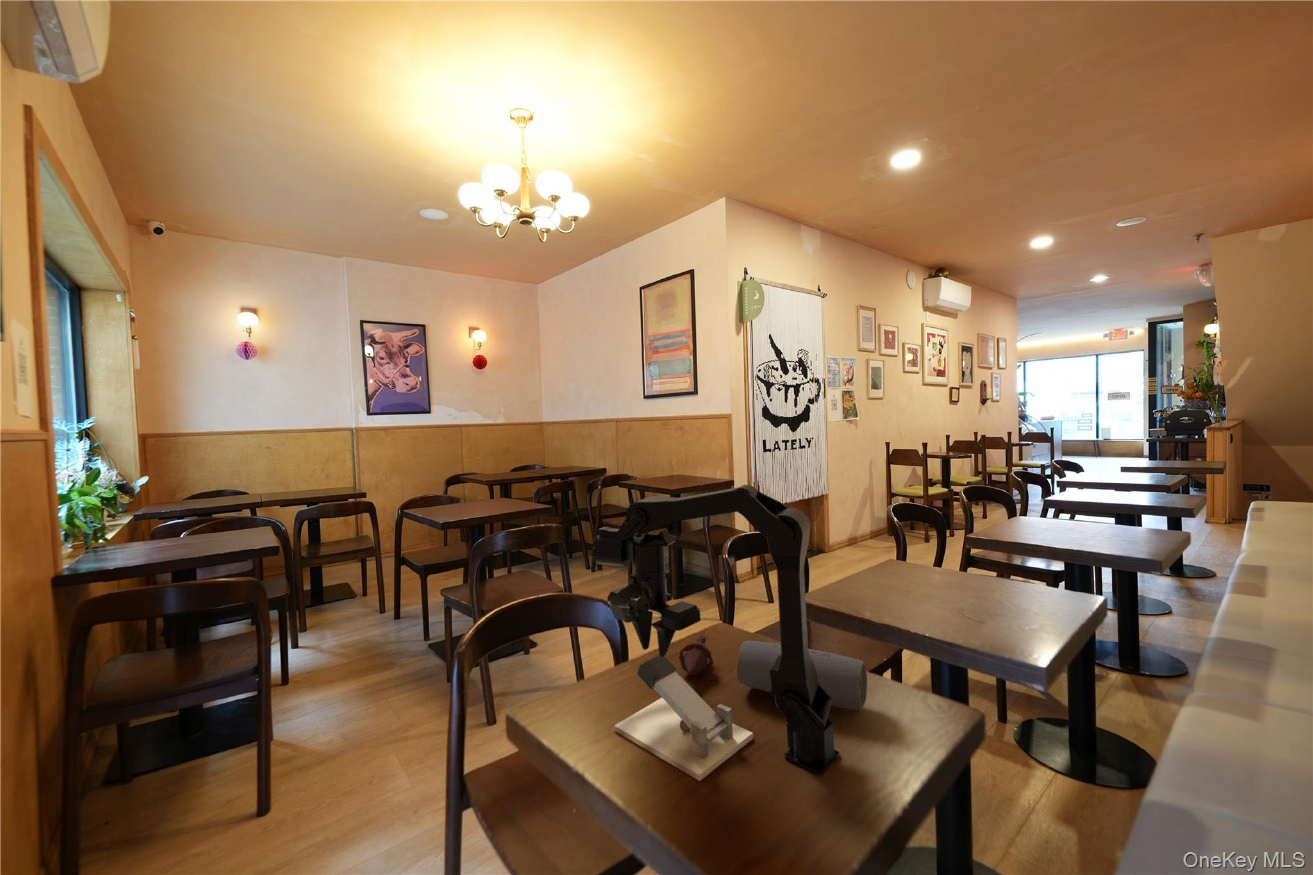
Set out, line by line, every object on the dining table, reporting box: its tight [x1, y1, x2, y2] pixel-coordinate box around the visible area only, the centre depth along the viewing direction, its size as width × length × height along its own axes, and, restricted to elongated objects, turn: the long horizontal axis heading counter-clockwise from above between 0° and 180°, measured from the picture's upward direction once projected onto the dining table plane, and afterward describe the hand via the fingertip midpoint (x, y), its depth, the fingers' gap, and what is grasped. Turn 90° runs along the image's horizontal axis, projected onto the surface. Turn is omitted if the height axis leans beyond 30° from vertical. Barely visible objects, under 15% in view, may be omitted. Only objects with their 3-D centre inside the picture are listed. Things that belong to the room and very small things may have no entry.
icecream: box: [678, 635, 714, 677], centre depth 117 cm, size 7×7×15 cm
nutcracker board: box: [613, 697, 754, 782], centre depth 95 cm, size 20×14×6 cm
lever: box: [636, 654, 727, 744], centre depth 95 cm, size 17×6×2 cm, turn 46°
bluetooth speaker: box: [736, 640, 868, 711], centre depth 104 cm, size 23×9×10 cm, turn 60°
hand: (654, 652), depth 99 cm, fingers open, 4 cm apart
